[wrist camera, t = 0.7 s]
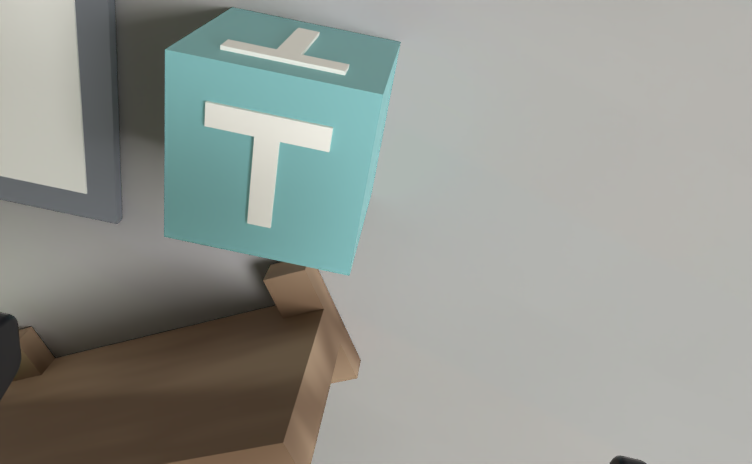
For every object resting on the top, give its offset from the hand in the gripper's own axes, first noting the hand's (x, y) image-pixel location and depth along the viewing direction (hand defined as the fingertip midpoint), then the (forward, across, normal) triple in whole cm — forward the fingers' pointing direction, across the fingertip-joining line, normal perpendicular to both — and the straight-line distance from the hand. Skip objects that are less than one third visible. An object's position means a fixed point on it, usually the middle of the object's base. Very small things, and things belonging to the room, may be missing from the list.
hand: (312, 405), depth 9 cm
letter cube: (+12, +3, 0) cm, 12 cm away
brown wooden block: (+12, +6, +11) cm, 18 cm away
